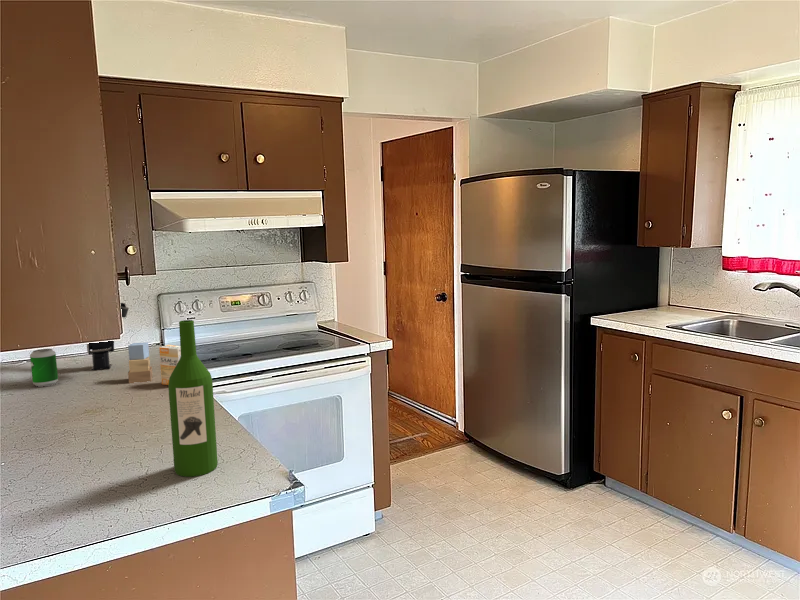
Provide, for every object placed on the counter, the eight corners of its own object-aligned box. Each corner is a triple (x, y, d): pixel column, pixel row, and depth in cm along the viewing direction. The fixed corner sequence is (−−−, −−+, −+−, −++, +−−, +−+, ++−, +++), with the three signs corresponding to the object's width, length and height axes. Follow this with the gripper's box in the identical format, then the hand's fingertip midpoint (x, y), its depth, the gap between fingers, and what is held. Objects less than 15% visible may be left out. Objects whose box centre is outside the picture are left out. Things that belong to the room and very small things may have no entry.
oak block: (131, 368, 206) (130, 357, 206) (150, 367, 208) (149, 356, 208) (129, 372, 201) (128, 361, 200) (148, 370, 203) (147, 359, 202)
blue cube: (134, 356, 207) (133, 342, 207) (149, 356, 207) (148, 342, 207) (129, 359, 202) (128, 345, 202) (144, 359, 203) (142, 345, 202)
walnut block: (131, 379, 207) (130, 368, 207) (152, 377, 210) (151, 366, 209) (128, 384, 201) (128, 372, 200) (150, 382, 203) (150, 370, 203)
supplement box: (160, 385, 198) (158, 347, 196) (171, 381, 202) (168, 344, 201) (179, 386, 195) (177, 348, 193) (190, 383, 199) (187, 345, 198)
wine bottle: (175, 480, 121) (164, 326, 117) (173, 464, 130) (163, 320, 126) (220, 472, 125) (210, 322, 121) (215, 457, 133) (206, 316, 129)
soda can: (63, 381, 205) (60, 348, 204) (48, 387, 198) (45, 352, 196) (43, 381, 206) (40, 348, 204) (27, 387, 198) (24, 352, 197)
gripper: (123, 299, 201) (126, 343, 203) (128, 294, 219) (131, 335, 221) (87, 301, 198) (91, 346, 200) (95, 295, 215) (99, 337, 217)
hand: (104, 341), depth 209 cm, fingers open, 9 cm apart
